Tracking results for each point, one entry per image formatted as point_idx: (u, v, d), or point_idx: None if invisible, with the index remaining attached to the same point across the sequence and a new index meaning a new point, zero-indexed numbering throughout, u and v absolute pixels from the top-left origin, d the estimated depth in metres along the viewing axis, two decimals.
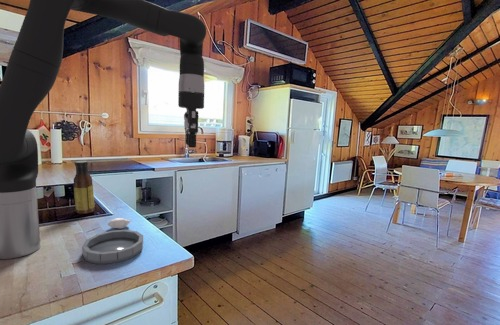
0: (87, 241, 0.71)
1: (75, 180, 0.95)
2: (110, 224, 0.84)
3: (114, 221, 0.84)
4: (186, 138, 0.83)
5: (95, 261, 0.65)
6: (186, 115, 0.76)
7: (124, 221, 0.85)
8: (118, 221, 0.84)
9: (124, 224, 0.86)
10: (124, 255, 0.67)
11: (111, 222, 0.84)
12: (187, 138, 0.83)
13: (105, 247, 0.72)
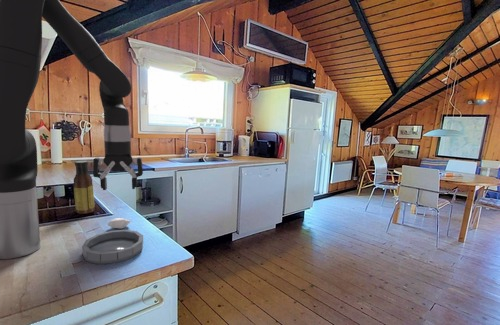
0: (87, 241, 0.71)
1: (75, 180, 0.95)
2: (110, 224, 0.84)
3: (114, 221, 0.84)
4: (105, 184, 0.83)
5: (95, 261, 0.65)
6: (124, 162, 0.83)
7: (124, 221, 0.85)
8: (118, 221, 0.84)
9: (124, 224, 0.86)
10: (124, 255, 0.67)
11: (111, 222, 0.84)
12: (105, 183, 0.83)
13: (105, 247, 0.72)
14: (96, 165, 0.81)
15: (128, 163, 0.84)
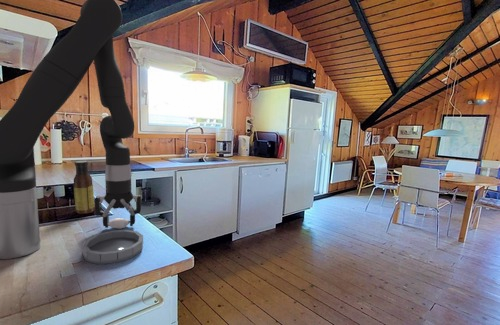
0: (87, 241, 0.71)
1: (75, 180, 0.95)
2: (110, 224, 0.84)
3: (114, 221, 0.84)
4: (107, 222, 0.85)
5: (95, 261, 0.65)
6: (124, 200, 0.85)
7: (124, 221, 0.85)
8: (118, 221, 0.84)
9: (124, 224, 0.86)
10: (124, 255, 0.67)
11: (111, 222, 0.84)
12: (107, 221, 0.85)
13: (105, 247, 0.72)
14: (98, 204, 0.83)
15: (128, 201, 0.86)
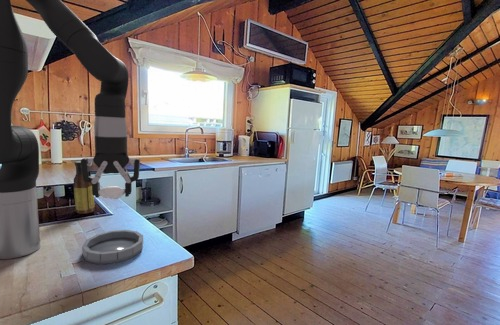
0: (87, 241, 0.71)
1: (75, 180, 0.95)
2: (101, 193, 0.68)
3: (106, 189, 0.67)
4: (98, 190, 0.68)
5: (95, 261, 0.65)
6: (118, 162, 0.68)
7: (119, 189, 0.69)
8: (111, 189, 0.67)
9: (119, 193, 0.69)
10: (124, 255, 0.67)
11: (102, 190, 0.67)
12: (98, 190, 0.68)
13: (105, 247, 0.72)
14: (85, 167, 0.66)
15: (123, 164, 0.69)
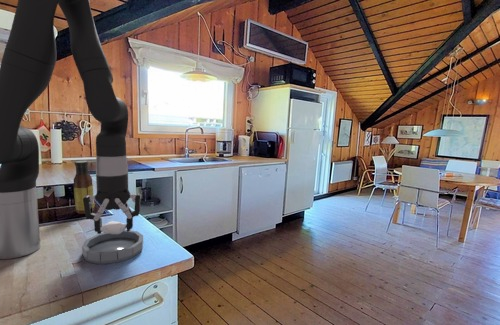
0: (87, 241, 0.71)
1: (75, 180, 0.95)
2: (103, 229, 0.69)
3: (108, 225, 0.68)
4: (100, 226, 0.69)
5: (95, 261, 0.65)
6: (120, 199, 0.69)
7: (120, 225, 0.70)
8: (113, 225, 0.69)
9: (120, 229, 0.71)
10: (124, 255, 0.67)
11: (104, 227, 0.68)
12: (100, 226, 0.70)
13: (105, 247, 0.72)
14: (87, 205, 0.67)
15: (124, 201, 0.70)
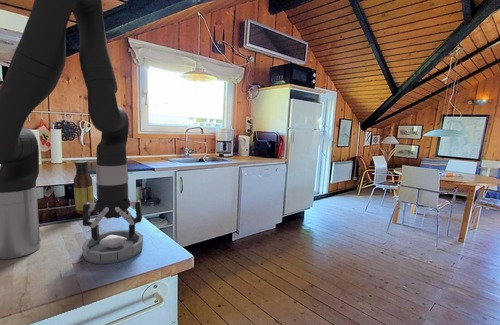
0: (87, 241, 0.71)
1: (75, 180, 0.95)
2: (102, 243, 0.69)
3: (107, 240, 0.69)
4: (96, 233, 0.69)
5: (95, 261, 0.65)
6: (120, 207, 0.70)
7: (119, 239, 0.71)
8: (112, 239, 0.69)
9: (119, 243, 0.71)
10: (124, 255, 0.67)
11: (103, 241, 0.69)
12: (97, 233, 0.70)
13: (105, 247, 0.72)
14: (86, 212, 0.68)
15: (125, 208, 0.70)
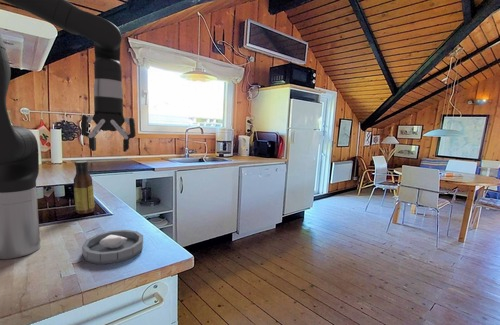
0: (87, 241, 0.71)
1: (75, 180, 0.95)
2: (102, 243, 0.69)
3: (107, 240, 0.69)
4: (94, 144, 0.76)
5: (95, 261, 0.65)
6: (115, 121, 0.77)
7: (119, 239, 0.71)
8: (112, 239, 0.69)
9: (119, 243, 0.71)
10: (124, 255, 0.67)
11: (103, 241, 0.69)
12: (94, 144, 0.77)
13: (105, 247, 0.72)
14: (84, 122, 0.75)
15: (119, 123, 0.78)
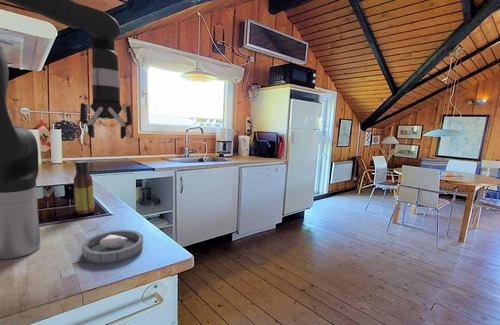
0: (87, 241, 0.71)
1: (75, 180, 0.95)
2: (102, 243, 0.69)
3: (107, 240, 0.69)
4: (92, 131, 0.80)
5: (95, 261, 0.65)
6: (112, 109, 0.81)
7: (119, 239, 0.71)
8: (112, 239, 0.69)
9: (119, 243, 0.71)
10: (124, 255, 0.67)
11: (103, 241, 0.69)
12: (92, 131, 0.81)
13: (105, 247, 0.72)
14: (83, 110, 0.78)
15: (117, 110, 0.81)
